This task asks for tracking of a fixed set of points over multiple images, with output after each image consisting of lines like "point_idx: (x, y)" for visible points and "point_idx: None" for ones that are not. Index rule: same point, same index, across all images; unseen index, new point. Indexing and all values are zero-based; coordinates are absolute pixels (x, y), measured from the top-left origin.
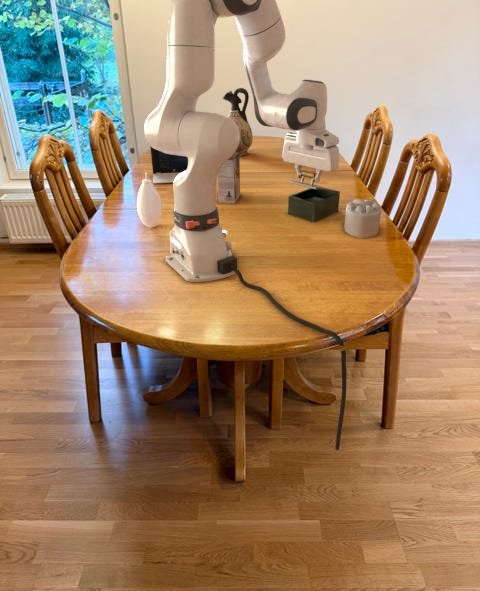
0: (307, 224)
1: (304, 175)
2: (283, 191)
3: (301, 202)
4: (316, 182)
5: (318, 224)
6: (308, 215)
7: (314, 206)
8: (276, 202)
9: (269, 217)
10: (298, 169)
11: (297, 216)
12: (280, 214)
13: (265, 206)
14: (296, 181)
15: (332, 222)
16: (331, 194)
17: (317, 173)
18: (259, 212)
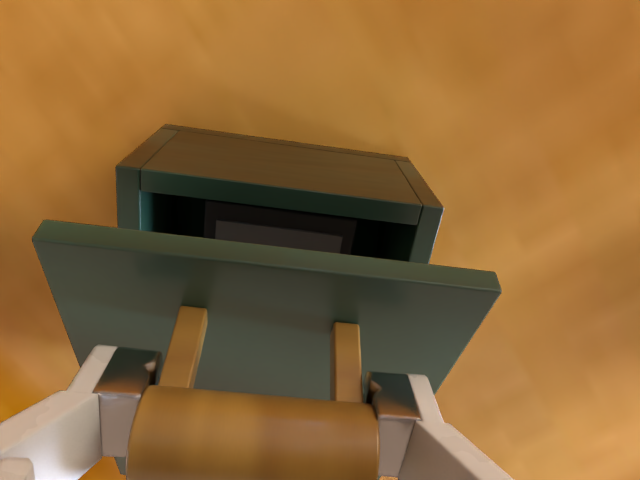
0: (175, 56)
1: (312, 403)
2: (597, 446)
3: (285, 178)
4: (104, 347)
5: (113, 106)
6: (212, 140)
7: (129, 157)
8: (570, 291)
9: (500, 7)
10: (448, 474)
11: (318, 145)
12: (450, 117)
13: (615, 191)
14: (446, 373)
15: (68, 196)
16: None
17: (7, 439)
18: (616, 58)
